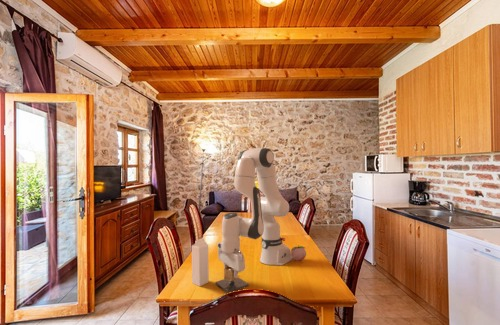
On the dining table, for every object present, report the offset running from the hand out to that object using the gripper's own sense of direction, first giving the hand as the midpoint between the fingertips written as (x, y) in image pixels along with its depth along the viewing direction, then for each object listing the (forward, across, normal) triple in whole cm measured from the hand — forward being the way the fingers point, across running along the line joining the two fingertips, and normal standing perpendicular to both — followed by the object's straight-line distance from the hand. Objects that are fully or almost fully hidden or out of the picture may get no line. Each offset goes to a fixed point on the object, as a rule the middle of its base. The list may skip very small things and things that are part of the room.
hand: (231, 274), depth 125 cm
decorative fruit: (+5, +1, -48) cm, 49 cm away
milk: (+6, +12, +11) cm, 17 cm away
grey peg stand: (+5, 0, 0) cm, 5 cm away
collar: (+2, 0, 0) cm, 2 cm away
